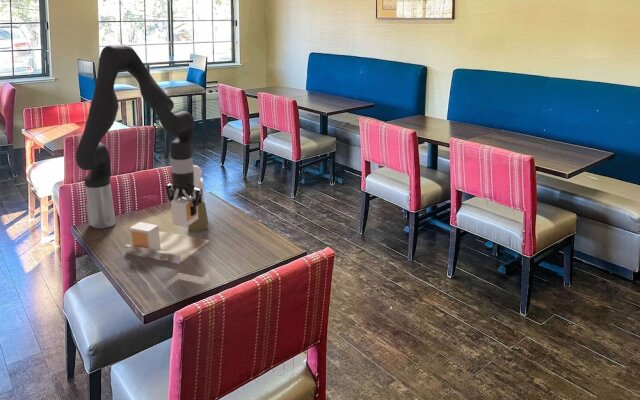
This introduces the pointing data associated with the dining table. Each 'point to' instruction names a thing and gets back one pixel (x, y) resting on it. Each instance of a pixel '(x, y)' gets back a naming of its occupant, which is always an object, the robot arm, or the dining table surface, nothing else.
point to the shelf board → (169, 248)
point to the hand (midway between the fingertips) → (185, 213)
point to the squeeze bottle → (200, 219)
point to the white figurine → (198, 179)
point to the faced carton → (145, 235)
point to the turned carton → (182, 212)
